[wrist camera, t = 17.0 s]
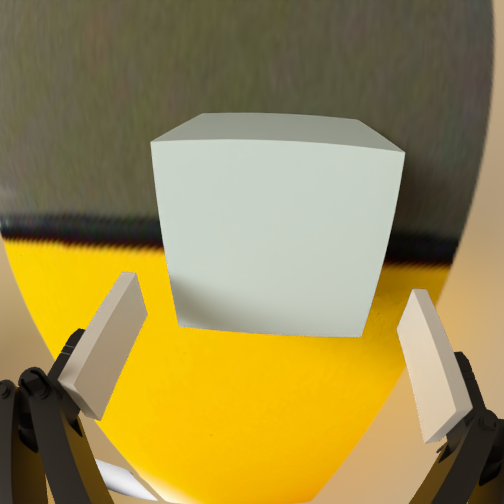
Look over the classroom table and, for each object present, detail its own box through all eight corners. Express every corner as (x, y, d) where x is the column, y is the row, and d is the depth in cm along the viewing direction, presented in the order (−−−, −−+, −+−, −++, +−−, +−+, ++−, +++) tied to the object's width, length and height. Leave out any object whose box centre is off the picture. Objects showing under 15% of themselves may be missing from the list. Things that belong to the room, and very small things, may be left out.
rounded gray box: (202, 113, 19) (150, 142, 12) (358, 119, 18) (405, 152, 11) (210, 246, 25) (179, 326, 17) (341, 252, 24) (360, 337, 16)
